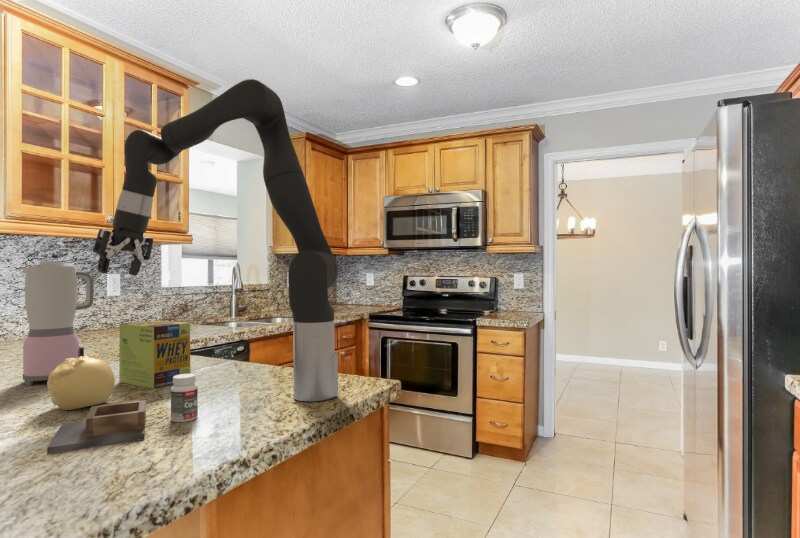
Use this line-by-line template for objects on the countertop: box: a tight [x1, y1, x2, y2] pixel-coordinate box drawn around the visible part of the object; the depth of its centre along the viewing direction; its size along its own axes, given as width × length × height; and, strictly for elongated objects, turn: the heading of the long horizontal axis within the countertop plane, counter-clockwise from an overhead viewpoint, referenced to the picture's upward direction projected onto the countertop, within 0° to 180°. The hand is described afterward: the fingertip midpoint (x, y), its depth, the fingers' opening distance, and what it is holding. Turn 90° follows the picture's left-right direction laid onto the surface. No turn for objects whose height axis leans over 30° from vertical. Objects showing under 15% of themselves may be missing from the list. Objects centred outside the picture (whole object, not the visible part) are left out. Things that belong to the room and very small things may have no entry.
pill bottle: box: [170, 373, 199, 423], centre depth 91 cm, size 5×5×8 cm
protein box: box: [118, 320, 191, 390], centre depth 123 cm, size 10×15×16 cm
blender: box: [21, 260, 95, 386], centre depth 127 cm, size 16×12×32 cm
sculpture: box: [46, 355, 116, 411], centre depth 100 cm, size 12×12×11 cm
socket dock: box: [46, 399, 147, 455], centre depth 82 cm, size 13×14×4 cm
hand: (118, 273), depth 117 cm, fingers open, 8 cm apart
